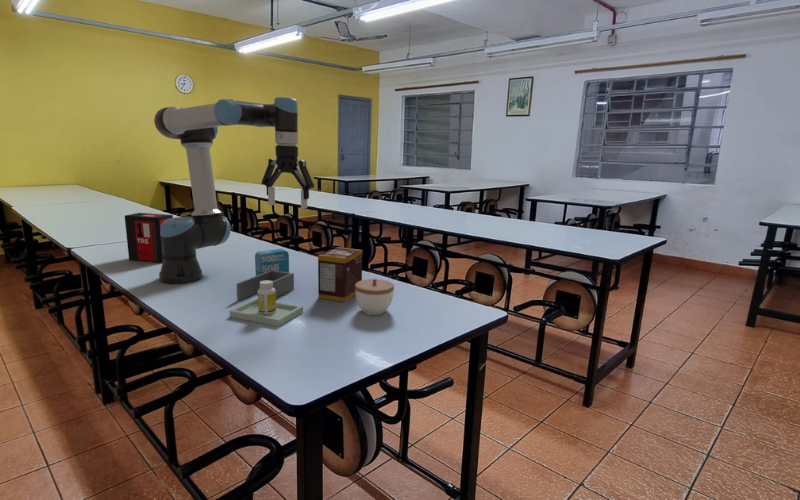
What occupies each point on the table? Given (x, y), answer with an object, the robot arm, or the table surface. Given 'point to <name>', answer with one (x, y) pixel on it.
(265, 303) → the supplement bottle
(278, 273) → the bay
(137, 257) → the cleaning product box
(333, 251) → the supplement box
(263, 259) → the data package
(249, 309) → the tray
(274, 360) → the table surface
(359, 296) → the lidded bowl
